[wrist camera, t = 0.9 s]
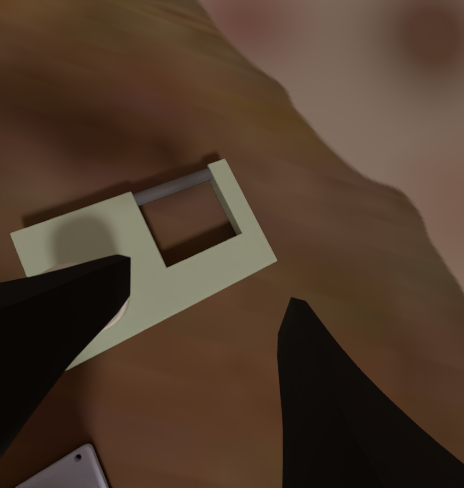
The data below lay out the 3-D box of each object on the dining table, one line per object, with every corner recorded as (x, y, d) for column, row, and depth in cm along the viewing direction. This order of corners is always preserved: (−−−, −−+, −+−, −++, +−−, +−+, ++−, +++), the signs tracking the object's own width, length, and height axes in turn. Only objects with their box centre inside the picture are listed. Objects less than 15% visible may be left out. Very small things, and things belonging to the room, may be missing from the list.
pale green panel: (76, 363, 19) (64, 371, 17) (26, 238, 20) (9, 233, 19) (270, 263, 25) (277, 260, 23) (221, 168, 26) (224, 158, 24)
